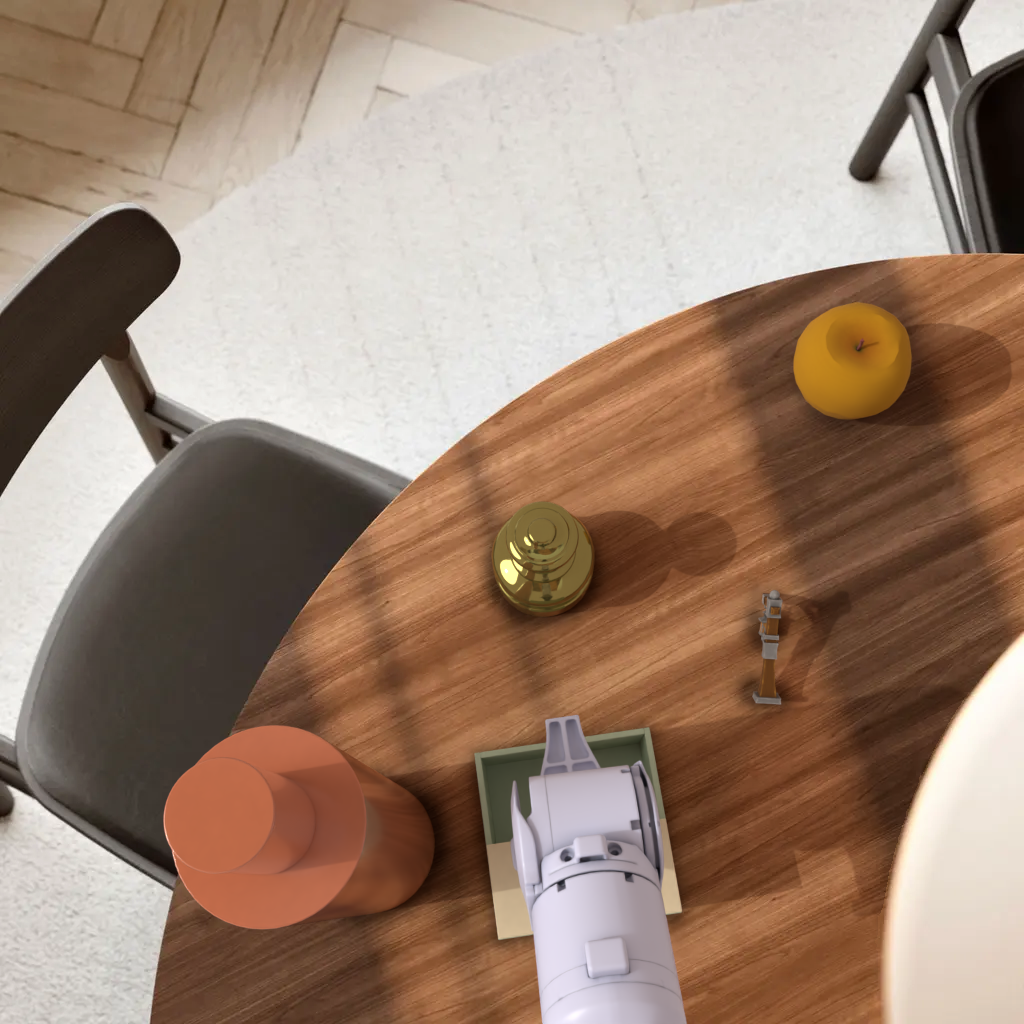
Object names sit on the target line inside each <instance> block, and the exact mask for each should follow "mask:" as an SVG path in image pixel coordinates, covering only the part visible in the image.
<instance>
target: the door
mask: <svg viewBox="0 0 1024 1024" xmlns="http://www.w3.org/2000/svg"><path fill="white" fill-rule="evenodd" d="M660 825H661V832H662V840H663V850H664V874H663V880H662V889H661V892H662V897H663V902H664V907H665V913H666V914H669V915H671V914H670V913H675V914H678V913H677V912H682V913H683V908H682V901H681V896H680V890H679V886H678V879H677V874H676V869H675V863H674V857H673V851H672V846H671V840H670V834H669V828H668V824H667V819H660ZM510 843H511V841H510V842H504V843H497V844H490V845H486V844H485V847H486V846H487V848H486V855H487V854H488V856H487V862H489V863H488V870H490V871H489V878H490V877H491V879H490V886H491V885H492V887H491V894H492V893H493V894H492V902H493V901H494V902H493V909H494V908H495V910H494V916H496V917H495V924H497V925H496V932H498V933H497V939H498V940H499V939H502V940H504V939H503V938H508V939H510V938H509V937H515V938H517V937H516V936H522V937H524V936H523V935H529V934H533V931H532V930H531V924H530V919H529V913H528V909H527V905H526V902H525V899H524V896H523V893H522V889H521V886H520V882H519V877H518V871H517V870H515V868H514V866H513V861H512V854H511V846H510ZM529 936H530V935H529Z"/></svg>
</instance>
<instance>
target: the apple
mask: <svg viewBox="0 0 1024 1024" xmlns="http://www.w3.org/2000/svg"><path fill="white" fill-rule="evenodd" d="M912 361H913V355H912V349H911V342H910V335H909V334H908V331H907V328H906V327H905V326H904V325H903V324H902V322H901V321H900V320H899V319H898V317H897V316H896V315H895V314H893V313H891V312H889V311H887V310H886V309H884V308H883V307H880V306H878V305H875V304H874V303H873V304H872V303H867V302H860V301H854V302H850V303H847V304H842V305H838V306H834V307H832V308H830V309H828V310H826V311H825V312H823V313H822V314H820V315H818V316H817V317H816V318H814V319H813V320H811V321H810V322H809V323H808V324H807V326H806V327H805V329H803V331H802V333H801V334H800V336H799V337H798V339H797V342H796V347H795V352H794V356H793V374H794V380H795V384H796V385H797V387H798V389H799V391H800V393H801V394H802V397H803V399H804V401H805V402H807V403H808V404H809V405H810V406H811V407H812V408H814V409H815V410H817V411H818V412H820V413H821V414H823V415H825V416H826V417H827V416H828V417H831V418H834V419H837V420H858V419H863V418H868V417H872V416H876V415H878V414H879V413H882V412H884V411H886V410H888V409H889V408H890V407H891V406H892V405H893V404H895V403H896V402H897V400H898V399H899V398H900V396H901V395H902V394H903V392H904V391H905V389H906V386H907V384H908V381H909V379H910V376H911V371H912V370H911V369H912Z"/></svg>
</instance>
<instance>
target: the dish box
mask: <svg viewBox="0 0 1024 1024" xmlns="http://www.w3.org/2000/svg"><path fill="white" fill-rule="evenodd" d="M584 737H585V739H586V741H587V743H588V746H589V748H590V749H591V751H592V753H593V755H594V757H595V758H596V760H597V762H598V764H599V766H600V768H607V767H615V766H623V765H628V766H629V768H630V767H631V766H633V765H634V764H635V763H636V762H638V761H641V762H642V764H643V766H644V769H645V771H646V773H647V775H648V776H649V779H650V781H651V784H652V786H653V789H654V793H655V797H656V802H657V807H658V813H659V818H660V819H666V814H665V808H664V801H663V796H662V790H661V785H660V779H659V773H658V769H657V763H656V757H655V752H654V746H653V739H652V735H651V728H650V727H649V726H647V727H642V728H634V729H628V730H622V731H621V730H620V731H614V732H607V733H601V734H594V735H588V736H584ZM545 748H546V742H539V743H534V744H533V743H532V744H527V745H526V744H525V745H521V746H514V747H505V748H499V749H493V750H485V751H478V752H474V753H473V754H474V762H475V770H476V777H477V785H478V793H479V794H478V795H479V801H480V808H481V818H482V824H483V831H484V832H483V833H484V840H485V848H486V849H487V846H486V845H490V844H497V843H504V842H510V841H511V839H512V838H513V827H512V816H511V795H512V787H513V781H516V783H517V788H518V794H519V801H520V809H521V814H522V816H523V817H524V819H525V821H526V820H527V818H528V817H529V815H530V813H531V810H532V808H531V798H530V788H529V777H533V776H540V775H541V770H542V765H543V760H544V755H545ZM666 820H667V819H666ZM486 855H487V857H488V854H487V853H486ZM487 862H488V861H487ZM488 864H489V862H488ZM488 870H489V869H488ZM489 872H490V870H489ZM489 879H490V880H491V877H490V876H489ZM490 886H491V888H492V885H491V884H490ZM491 894H492V895H493V893H492V892H491ZM492 902H493V903H494V901H493V900H492ZM493 910H494V911H495V908H494V907H493ZM681 913H683V911H682V912H677V913H670V914H666V916H669V915H675V914H681ZM494 916H495V915H494ZM494 918H496V916H495V917H494ZM495 924H496V923H495ZM495 926H497V924H496V925H495ZM496 932H497V931H496ZM497 934H498V932H497ZM528 936H534V934H529V935H523V936H516V937H509V938H503V939H498V940H499V941H501V940H507V939H513V938H514V939H515V938H521V937H528Z"/></svg>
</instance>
